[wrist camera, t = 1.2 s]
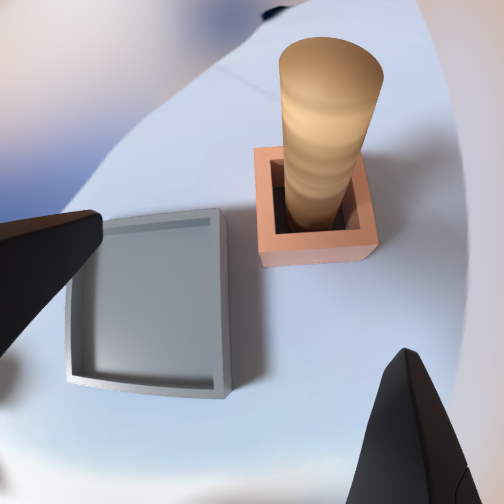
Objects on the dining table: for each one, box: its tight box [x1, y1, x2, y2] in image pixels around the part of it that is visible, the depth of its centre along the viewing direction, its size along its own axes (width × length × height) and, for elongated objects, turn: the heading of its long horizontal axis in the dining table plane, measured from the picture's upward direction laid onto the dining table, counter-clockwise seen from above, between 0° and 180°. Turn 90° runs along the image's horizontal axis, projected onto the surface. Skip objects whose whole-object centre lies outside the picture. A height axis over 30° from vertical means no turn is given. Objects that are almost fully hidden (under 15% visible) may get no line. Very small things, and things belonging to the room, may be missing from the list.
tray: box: [65, 208, 232, 399], centre depth 20 cm, size 12×12×3 cm
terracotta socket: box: [254, 146, 379, 267], centre depth 20 cm, size 7×7×4 cm
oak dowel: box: [279, 37, 384, 233], centre depth 15 cm, size 4×4×14 cm
